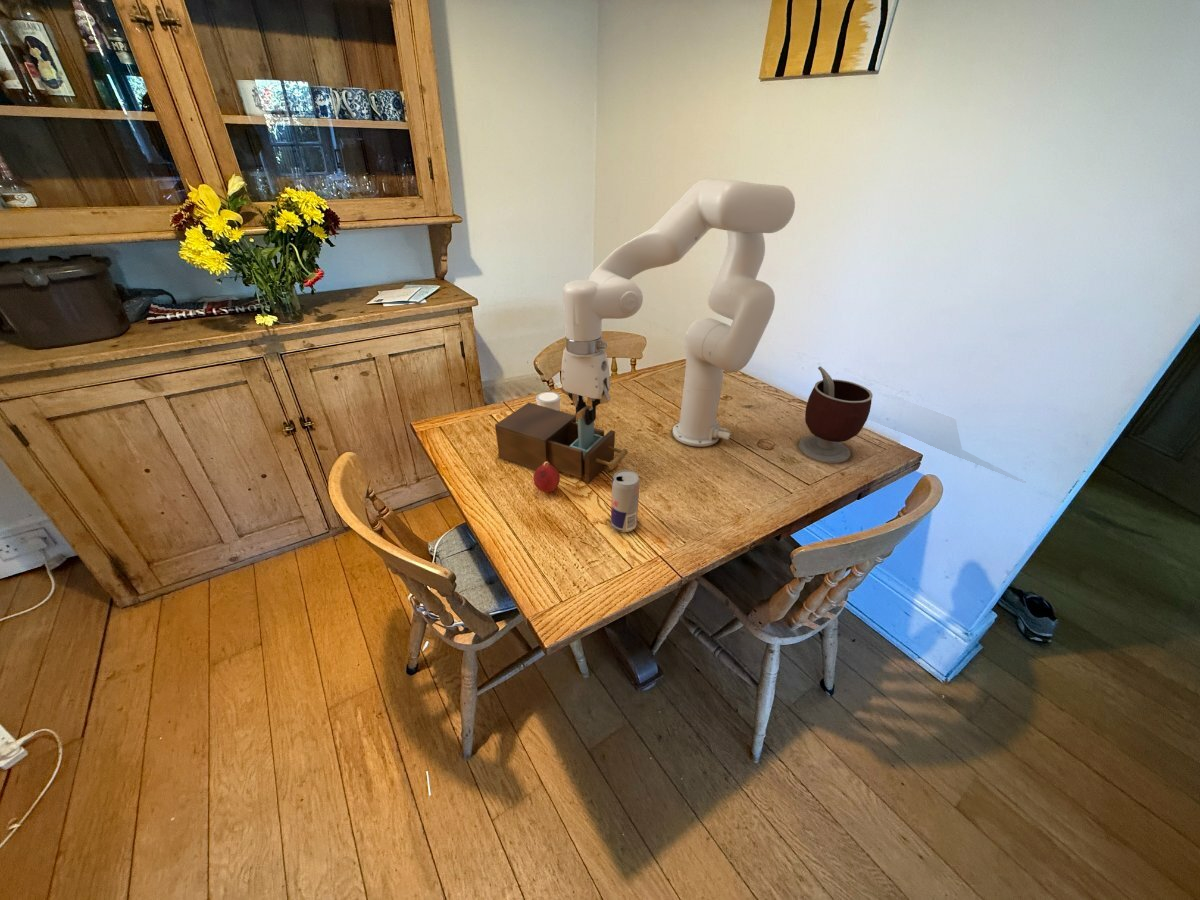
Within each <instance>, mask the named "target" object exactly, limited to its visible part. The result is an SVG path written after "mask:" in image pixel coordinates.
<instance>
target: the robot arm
mask: <svg viewBox="0 0 1200 900" xmlns="http://www.w3.org/2000/svg"><path fill="white" fill-rule="evenodd" d="M795 208H796V201H795V196H794V194H793V192H792V190H790V189H789V187H786V186H784V185H778V184H766V183H764V184H763V183H754V182H749V181H741V180H733V179H722V178H704V179H700V180H699V181H696V182H695V183H694V184H693V185H691V186H690V187H689V188H688V190H687V191H685V193H684V194H683V195H681V197H680V198H679V199H678V200H677V201H676V202H675V203H674V204H673V205H672V206H671V207H670V208H669V209H668V211H666V213H664V215H662V216H661V217H660V218H659V219H658V221H657V222H655V223H654V224H653V226H651V228H649V229H648V230H646V231H644V232H642V233H640V234H638V235H637V236H635V237H633V238H632V239H630V240H628V241H626V242H625V243H622V244H621V245H619V246H618V247H617V248H615V249H614V250H613V251H612V252H610V253H609V254H608V255H607V256H606V257H605V258H604V259H603V260H602V261H601V262H600V263H599V265H597V266H596V268H594V270H593V271H592V272H591V273H590V275H589V277H588V279H577V280H571V281H568V282H567V283H566V284H565V285H564V286H563V289H562V302H563V303H562V304H563V319H564V320H563V321H564V339H565V347H564V348H563V351H562V358H561V368H560V369H561V370H560V371H561V372H560V373H561V375H560V377H561V389H560V391H561V393H563V394H564V395H566V396H567V397H568V398H569V399H570V400H571V402H572V405H573V406H574V407H575V414H576V413H577V412H579V411H580V410H581V409H582V408H584V407H585V406H586V405H587V409H586V410H585V418H586V425H590V424H591V423H592V422H593V421H594V422H595V421H596V419H597V407H598V406H599V405H604V404H608V403H609V402H610V401H611V397H610V394H609V392H610V391H611V377H610V375H611V373H610V367H609V365H610V364H609V360H608V355H607V352H606V349H607V348H608V343H607V342H605V341H603V329H602V328H603V324H602V323H603V319H604V320H605V319H607V320H608V319H610V320H612V319H613V320H617V319H618V320H619V319H627V318H630V317H633V316H635V315H636V314H637V313H638V312H639V310H640V309H641V308H642V305H643V302H644V295H643V291H642V290H641V288H640V287H639V285H637V284H636V283H635V282H634V281H632V280H631V279H632V278H634V277H635V276H637V275H639V274H641V273H643V272H645V271H647V270H651V269H655V268H660V267H661V268H662V267H666V266H669V265H673V264H675V263H677V262H679V261H681V260H682V259H683V258H684V256H686V254H687V253H689V251H690V250H691V249H692V248H694V246H696V244H697V243H698V242H699V241H700V240H701V239H702V238H703V237H704V236H705V235H706V234H707V233H708V232H709V231H710V230H711V229H716V230H721V231H722V230H723V231H726V234H727V247H726V251H725V252H724V253H725V254H724V257H723V259H722V261H721V264H720V265H719V266H720V267H719V269H718V271H717V273H716V276H715V278H714V281H713V283H712V286H711V288H710V290H709V294H708V298H707V303H708V307H709V309H710V310H711V311H712V312H714V313H715V314H717V315H719V316H722V317H724V318H727V319H729V320H732V321H731V324H730V325H729V324H727V323H725V322H722V321H720V320H718V319H714V318H711V317H701V318H698V319H695V320H694V321H693V322H691V324H690V325H689V326H688V328H687V330H686V332H685V336H684V351H685V370H684V378H683V379H684V380H683V386H682V387H683V390H682V397H681V398H682V399H681V403H680V404H681V405H680V412H679V413H680V415H679V422H678V423H676V424H675V425H674V426H673V427H672V437H674V439H675V440H677V441H678V442H679V443H681V444H684V445H686V446H691V447H695V448H696V447H699V448H703V447H709V446H712V445H714V444H716V443H717V442H718V441H719V440H720V439H721V440H726V441H730V439H731V432H729V428H726V427H721V426H720V425H719V423H720V420H718V419H717V417H718V411H719V406H720V400H721V392H722V387H723V382H724V371H725V372H728V373H737V372H739V371H741V370H742V369H744V368H745V367H746V366H747V365H748V363H749V362H750V361H751V359H752V357H753V356H754V353H755V351H756V349H757V348H758V345H759V343H760V341H761V339H762V337H763V335H764V333H765V331H766V329H767V327H768V324H769V322H770V321H771V318H772V315H773V312H774V310H775V305H776V295H775V291H774V290H773V288H772V287H771V286H770V285H769V284H768V283H767V282H765V281H762V280H759V279H757V277H758V274H759V272H760V269H761V267H762V264H763V262H764V259H765V255H766V242H765V236H764V234H774V233H777V232H779V231H781V230H783V229H784V228H785V227H786V226H787V225H789V223H790V221H791V220H792V218H793V216H794V213H795ZM584 398H586V401H587V402H586V401H585V399H584ZM576 423H578V418H577V417H576Z"/></svg>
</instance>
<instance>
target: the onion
mask: <svg viewBox="0 0 1200 900" xmlns="http://www.w3.org/2000/svg"><path fill="white" fill-rule="evenodd" d="M560 482H561V476H560V471H558V470H557V469H556V468H555V467H553V466H552V465H549V462H548V461H547V462H544V464H543V465H541V466H540V467H538V468H537V470H534V473H533V484H534V486H535V487H536V488H537V490H538V491H541V492H543V493H550V492H552V491H554V490H555V489H557V487H558V486H559V485H560Z"/></svg>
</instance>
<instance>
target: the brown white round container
mask: <svg viewBox="0 0 1200 900" xmlns="http://www.w3.org/2000/svg"><path fill="white" fill-rule="evenodd" d="M535 401H536V405H540V406H543V407H547V408H551V409H554V410H558V411H561V409H560V408H561V407H560V406H561V395H560V393H558V392H556V391H542V392H540V393H537V395H536V396H535Z"/></svg>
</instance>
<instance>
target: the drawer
mask: <svg viewBox="0 0 1200 900" xmlns="http://www.w3.org/2000/svg"><path fill="white" fill-rule="evenodd" d="M594 434H597V435H600V436H603V438H602V439H601V440H600V441H598V442H597V443H596V444H595V445H594V446H593V447H592V448H591V449H590V450H589V451H588V452H587V453H586V454H585V460H584V459H583V450H579V449H576V448H573V447H570V445H571V444H572V443H573V442H574V441H575V440H577V439H578V422H577V421H576V422H573V421H572V422H571V423H570V424H569V425H567V426H566V427H565V428H564V429H562V430H561V431H560V432H559V433H557V434H556V435H555V436H554V437H552V438H551V439H550V440H549V441H547V446H548V462H549V465H552V466H553V467H555V468H556V469H557V470H558V472H561V473H565V474H566V475H567V474H568V475H570V476H573V477H576V478H579V479H583V477H584V484H587V485H590V484H591V483H592V482H593V481H594V480H595V479H596V478H597V477H598V476H599V475H600V474H601V472H603V471H604V470H605V468H606V467H609V469H611V470H613V469H615V468H616V467H617V466H618V465H619V464H620V462H621V461H622V460H623V459H624V458H625V457H626V456H627V455H628V454H629V451H628V449H626V448H623V449H620V448H616V446H615V445H616V444H615V442H616V441H615V440H616V431H615V430H612V429H610V430H609V431H608V432H607V433H606V434H605V430H604V429H601V428H597V427H594ZM615 452H616V453H618V454H617V455H615Z"/></svg>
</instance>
